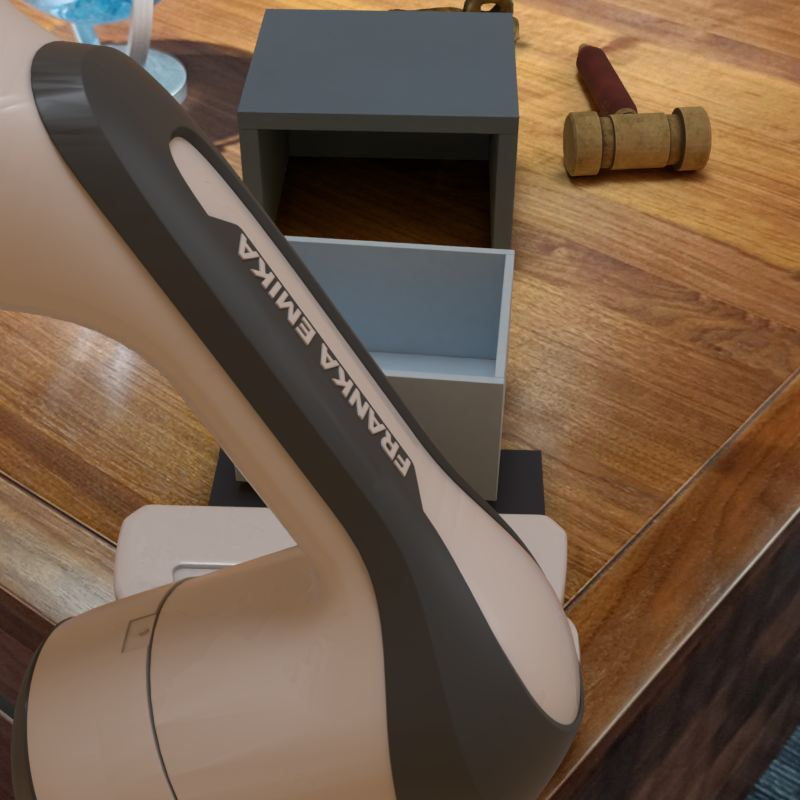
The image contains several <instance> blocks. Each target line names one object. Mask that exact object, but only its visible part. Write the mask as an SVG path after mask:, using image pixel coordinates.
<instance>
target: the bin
mask: <svg viewBox="0 0 800 800" xmlns="http://www.w3.org/2000/svg"><path fill="white" fill-rule="evenodd" d="M284 237H285V238H286V239H287V241H288V242H289V244H290V245H291V246H292V248H293V249H294V250H295V252H296V253H297V254H298V256H299V257H300V259H301V260H302V261H303V263H304V264H305V265H306V267H307V268H308V269H309V271H310V272H311V274H312V275H313V276H314V278H315V279H316V280H317V282H318V283H319V285H320V286H321V287H322V289H323V290H324V291H325V293H326V294H327V296H328V297H329V298H330V300H331V301H332V302H333V304H334V305H335V307H336V308H337V309H338V311H339V312H340V314H341V315H342V316H343V318H344V319H345V320H346V322H347V323H348V325H349V326H350V327H351V329H352V330H353V331H354V333H355V334H356V336H357V337H358V338H359V340H360V341H361V342H362V344H363V345H364V347H365V348H366V349H367V351H368V352H369V354H370V355H371V356H372V358H373V359H374V360H375V362H376V363H377V365H378V366H379V367H380V369H381V370H382V371H383V373H384V374H385V376H386V377H387V378H388V380H389V381H390V382H391V384H392V385H393V387H394V388H395V389H396V391H397V392H398V394H399V395H400V396H401V398H402V399H403V400H404V402H405V403H406V405H407V406H408V407H409V409H410V410H411V412H412V413H413V415H414V416H415V417H416V419H417V420H418V421H419V423H420V424H421V425H422V427H423V428H424V429H425V431H426V432H427V433H428V435H429V436H430V437H431V439H432V440H433V441H434V443H435V444H436V445H437V447H438V448H439V449H440V451H441V452H442V453H443V455H444V456H445V457H446V458H447V460H448V461H449V462H450V463H451V465H452V466H453V467H454V468H455V469H456V470H457V472H458V473H459V474H460V475H461V476H462V477H463V478H464V479H465V480H466V481H467V482H468V483H469V485H470V486H471V487H472V488H473V489H474V490H475V491H476V492H477V493H478V494H479V495H480V496H481V497H482V498H483V499H484V500H490V501H496V500H497V488H498V476H499V463H500V451H501V449H502V439H503V437H502V436H503V426H504V425H503V423H504V412H505V401H506V400H505V399H506V387H507V377H508V363H509V350H510V349H509V347H510V333H511V332H510V331H511V317H512V302H513V286H514V272H515V256H516V250H515V249H511V250H507V249H491V247H490V248H489V247H475V246H473V247H471V246H458V245H457V246H456V245H442V244H441V245H439V244H426V243H425V244H424V243H423V244H422V243H409V242H394V241H393V242H392V241H391V242H390V241H376V240H375V241H374V240H362V239H361V240H358V239H342V238H329V237H327V238H326V237H309V236H297V235H296V236H295V235H294V236H293V235H284ZM235 473H236V481H245V482H248V481H247V480H246V479H245V477H244V476H243V475H242V474H241V472H240V471H239V470H238V469H237V467H236V466H235Z"/></svg>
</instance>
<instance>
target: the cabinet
mask: <svg viewBox="0 0 800 800" xmlns="http://www.w3.org/2000/svg"><path fill="white" fill-rule="evenodd" d="M513 17H514V12H513V13H491V12H432V11H387V10H372V9H371V10H369V9H367V10H366V9H365V10H363V9H362V10H361V9H313V8H312V9H309V8H307V9H306V8H305V9H303V8H302V9H301V8H265V11H264V13H263V17H262V21H261V24H260V28H259V30H258V35H257V39H256V43H255V46H254V50H253V53H252V55H251V56H252V57H251V60H250V64H249V67H248V71H247V73H246V74H247V75H246V78H245V82H244V85H243V88H242V93H241V96H240V100H239V103H238V107H237V111H236V116H237V117H236V118H237V128H238V139H239V151H240V152H239V153H240V162H241V163H240V165H241V175H242V181H243V182H244V183H245V185H246V186H247V187H248V189H249V190H250V191H251V193H252V194H253V195H254V197H255V198H256V199H257V201H258V202H259V203H260V205H261V206H262V207H263V209H264V210H265V211H266V213H267V214H268V215H269V217H270V218H271V219H272V221H273V222H274V223H275V224H276V222H277V217H278V212H279V206H280V203H281V198H282V192H283V187H284V183H285V178H286V173H287V168H288V163H289V158H290V157H303V158H304V157H305V158H307V157H308V158H354V159H357V158H359V159H403V160H407V159H408V160H410V159H411V160H413V159H414V160H450V161H451V160H453V161H454V160H456V161H457V160H459V161H460V160H461V161H488V175H489V177H488V178H489V179H488V180H489V214H490V215H489V216H490V249H507V250H512V239H513V224H514V208H515V207H514V206H515V191H516V175H517V174H516V173H517V162H518V161H517V159H518V143H519V128H520V108H519V92H518V76H517V74H518V73H517V59H516V44H515V43H516V42H515V41H514V27H513Z"/></svg>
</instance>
